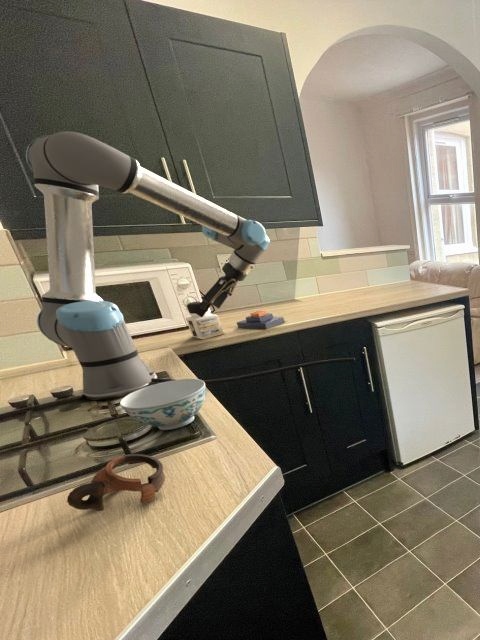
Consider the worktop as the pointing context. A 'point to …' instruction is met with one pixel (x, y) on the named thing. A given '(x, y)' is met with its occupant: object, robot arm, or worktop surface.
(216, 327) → the container
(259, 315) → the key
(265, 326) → the blue orange stepped pyramid
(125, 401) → the chinaware
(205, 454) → the worktop surface
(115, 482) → the brown curved ring piece
